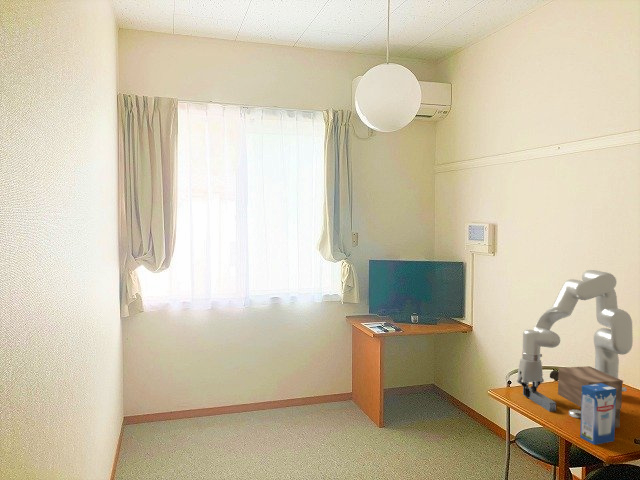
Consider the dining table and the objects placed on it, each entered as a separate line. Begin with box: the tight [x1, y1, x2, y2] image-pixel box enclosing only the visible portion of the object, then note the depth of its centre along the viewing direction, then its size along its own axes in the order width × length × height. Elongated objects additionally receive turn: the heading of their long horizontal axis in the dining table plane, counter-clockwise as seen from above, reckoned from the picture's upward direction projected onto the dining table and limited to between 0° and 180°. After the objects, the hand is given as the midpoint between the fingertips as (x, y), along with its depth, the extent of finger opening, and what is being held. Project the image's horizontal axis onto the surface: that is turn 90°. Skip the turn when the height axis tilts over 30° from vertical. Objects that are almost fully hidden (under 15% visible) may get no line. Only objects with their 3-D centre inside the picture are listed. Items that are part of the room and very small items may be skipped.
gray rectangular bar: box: [522, 385, 557, 413], centre depth 217 cm, size 3×20×4 cm, turn 9°
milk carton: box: [579, 383, 616, 446], centre depth 181 cm, size 10×6×20 cm, turn 108°
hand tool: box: [549, 370, 559, 381], centre depth 245 cm, size 19×4×5 cm, turn 50°
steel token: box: [568, 409, 581, 419], centre depth 203 cm, size 6×6×2 cm
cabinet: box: [557, 366, 624, 429], centre depth 199 cm, size 15×19×19 cm
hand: (529, 395), depth 224 cm, fingers closed on gray rectangular bar, 2 cm apart
